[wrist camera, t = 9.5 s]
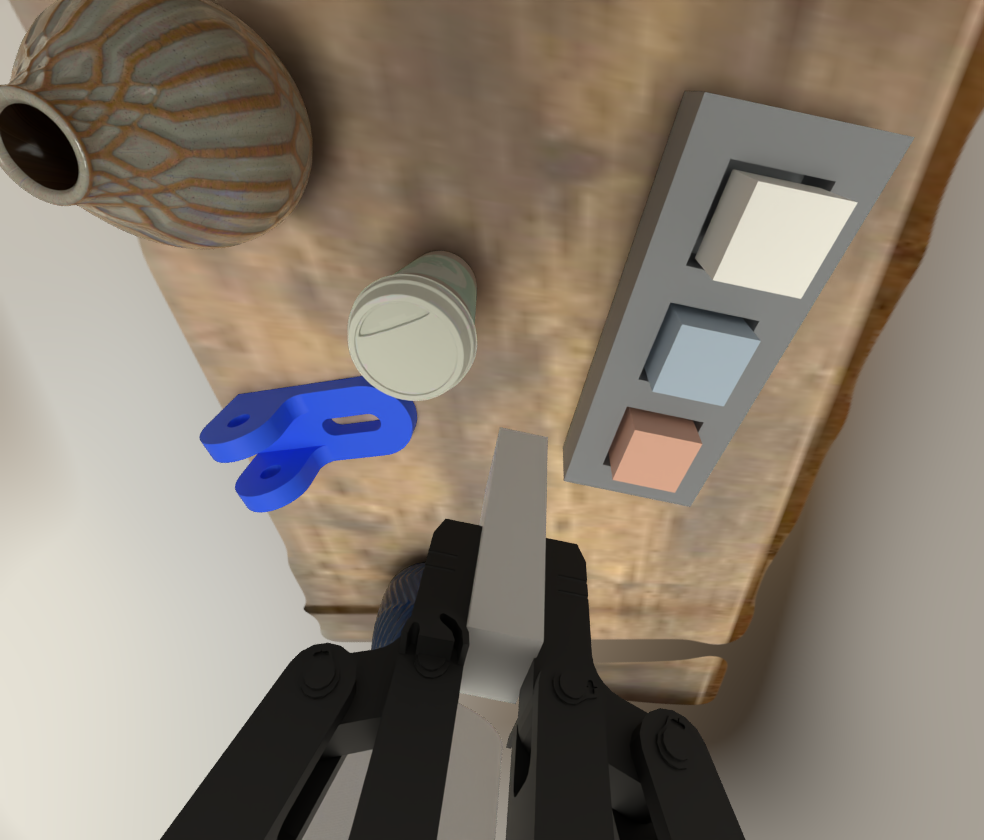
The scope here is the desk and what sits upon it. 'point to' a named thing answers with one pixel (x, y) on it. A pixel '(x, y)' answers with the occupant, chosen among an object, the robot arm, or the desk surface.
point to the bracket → (303, 435)
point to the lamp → (471, 756)
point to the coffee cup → (416, 328)
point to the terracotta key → (653, 449)
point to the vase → (156, 120)
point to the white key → (771, 233)
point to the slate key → (699, 354)
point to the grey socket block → (681, 279)
